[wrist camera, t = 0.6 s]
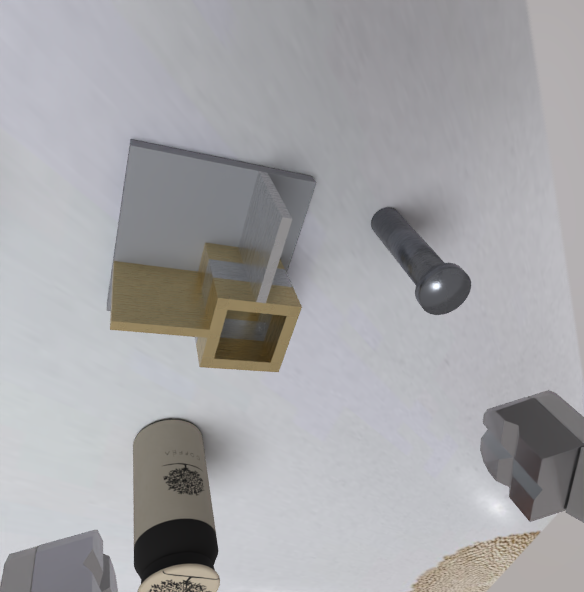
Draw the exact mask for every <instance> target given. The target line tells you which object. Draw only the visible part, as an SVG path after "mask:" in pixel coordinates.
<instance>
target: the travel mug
mask: <svg viewBox="0 0 584 592" xmlns="http://www.w3.org/2000/svg"><path fill="white" fill-rule="evenodd" d="M133 490H134V567H135V570H136V572H137V573H138V575H139V576H140V578H141V579H142V580H141V585H140V587H139V589H138V592H216V591H217V590H218V588H219V585H220V578H219V575H218V574H217V572H216V571H215V570H214V566H213V565H214V563H215V560H216V558H217V555H218V545H217V538H216V531H215V524H214V517H213V510H212V502H211V495H210V488H209V481H208V474H207V467H206V460H205V453H204V445H203V438H202V434H201V432H200V430H199V429H198V428H197V427H196V426H194V425H193V424H191V423H189V422H186V421H182V420H164V421H160V422H156V423H154V424H151V425H149V426H147V427H146V428H144V429H143V430H142V431H141V432H140V433H139V434H138V435H137V437H136V438H135V440H134V444H133Z"/></svg>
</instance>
